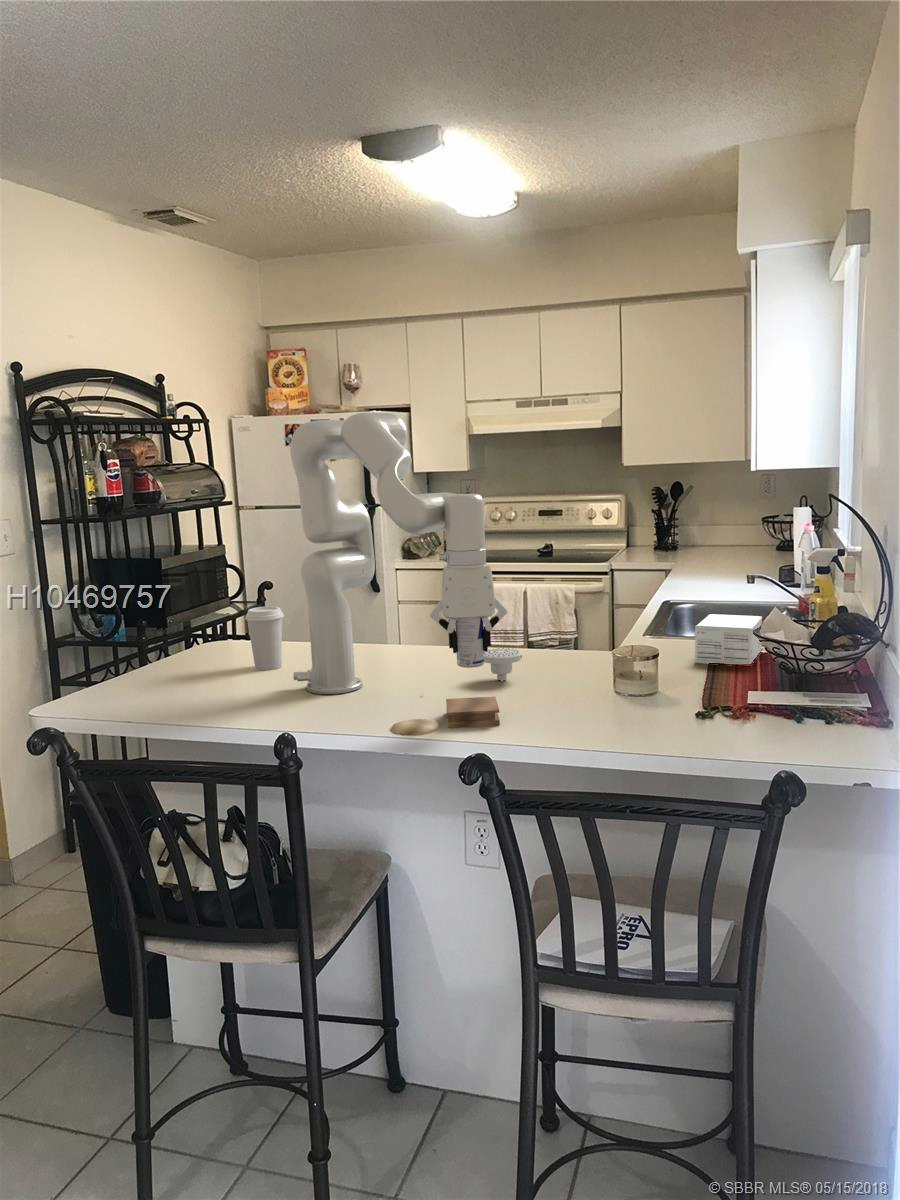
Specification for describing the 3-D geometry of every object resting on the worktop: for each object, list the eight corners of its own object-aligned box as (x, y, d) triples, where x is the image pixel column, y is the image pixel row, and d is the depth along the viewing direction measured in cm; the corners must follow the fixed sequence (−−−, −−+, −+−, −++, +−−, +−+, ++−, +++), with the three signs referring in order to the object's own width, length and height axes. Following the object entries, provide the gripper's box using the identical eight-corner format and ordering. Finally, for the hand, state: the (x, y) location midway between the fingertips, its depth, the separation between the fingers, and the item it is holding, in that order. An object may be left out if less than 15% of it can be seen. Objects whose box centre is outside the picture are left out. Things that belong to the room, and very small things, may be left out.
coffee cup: (295, 665, 240) (291, 607, 237) (269, 673, 232) (264, 613, 229) (267, 661, 245) (263, 604, 242) (241, 669, 237) (236, 611, 234)
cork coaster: (391, 738, 177) (391, 734, 177) (392, 724, 186) (392, 720, 186) (439, 735, 177) (439, 731, 177) (437, 721, 186) (437, 717, 186)
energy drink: (487, 662, 186) (485, 602, 184) (479, 668, 181) (477, 606, 179) (462, 661, 187) (459, 601, 185) (453, 667, 182) (450, 606, 180)
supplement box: (751, 667, 218) (752, 628, 217) (694, 664, 224) (694, 625, 222) (762, 652, 233) (763, 615, 232) (708, 649, 239) (708, 612, 237)
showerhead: (481, 644, 220) (524, 644, 218) (482, 674, 221) (524, 675, 219) (474, 653, 211) (518, 653, 209) (475, 685, 212) (519, 685, 210)
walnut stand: (447, 727, 181) (447, 712, 180) (446, 713, 191) (446, 698, 190) (499, 725, 181) (499, 710, 181) (495, 710, 191) (495, 696, 190)
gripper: (421, 563, 177) (426, 657, 180) (512, 558, 177) (515, 652, 180) (421, 558, 184) (426, 649, 187) (509, 554, 185) (512, 644, 187)
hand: (470, 650), depth 184 cm, fingers closed on energy drink, 5 cm apart
